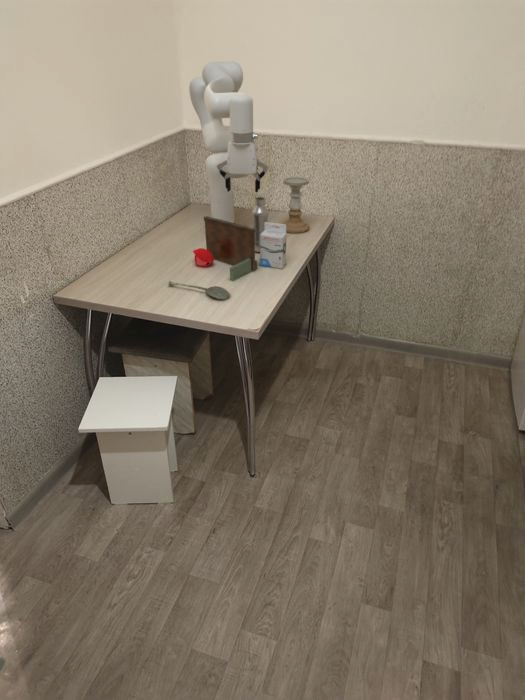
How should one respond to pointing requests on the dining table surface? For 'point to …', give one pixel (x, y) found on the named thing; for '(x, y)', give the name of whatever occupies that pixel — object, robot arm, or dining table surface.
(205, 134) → the robot arm
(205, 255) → the red rounded piece
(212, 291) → the soupspoon
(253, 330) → the dining table surface
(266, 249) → the ink box
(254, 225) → the silver metal bottle
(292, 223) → the candle holder
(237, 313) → the dining table surface
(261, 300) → the dining table surface
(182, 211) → the dining table surface
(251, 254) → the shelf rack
